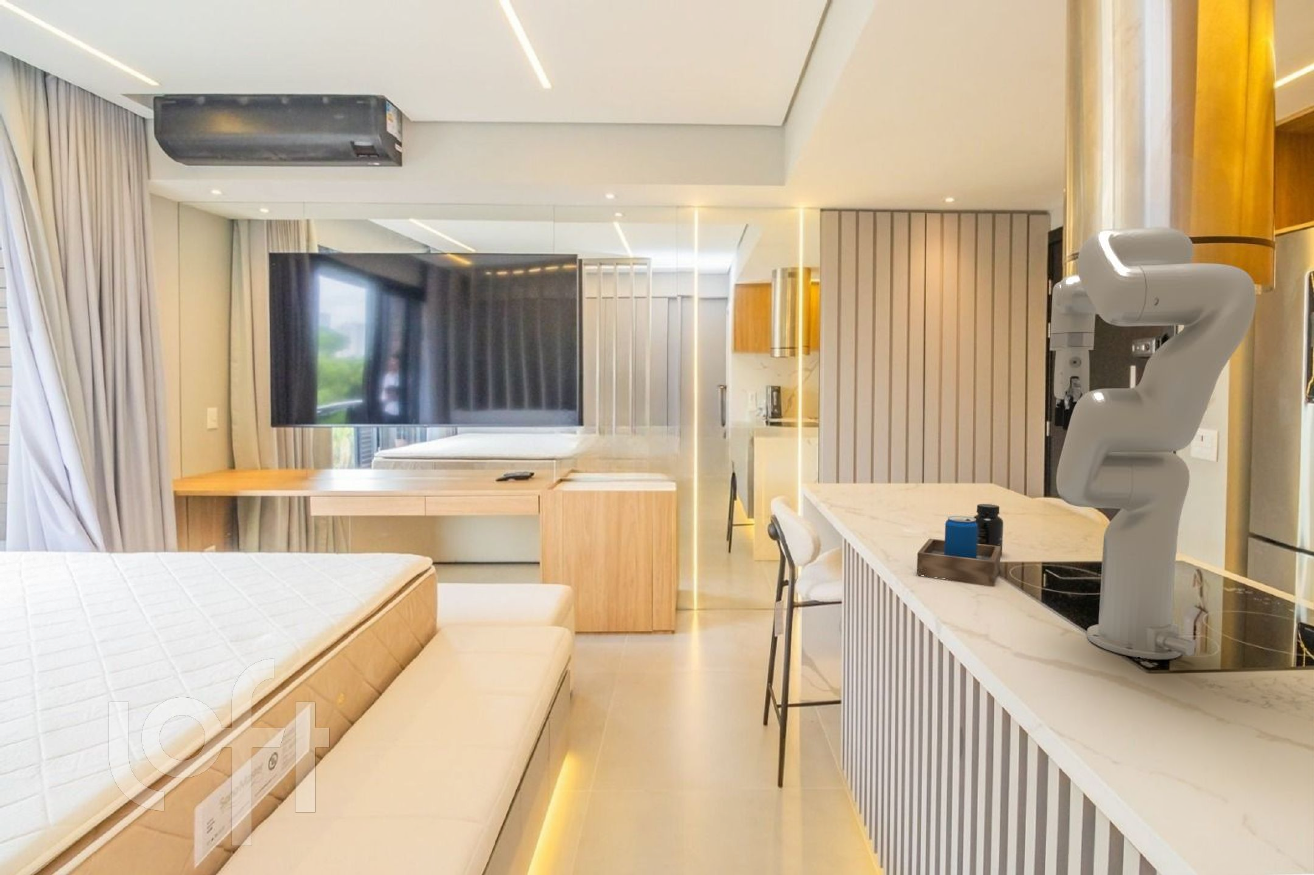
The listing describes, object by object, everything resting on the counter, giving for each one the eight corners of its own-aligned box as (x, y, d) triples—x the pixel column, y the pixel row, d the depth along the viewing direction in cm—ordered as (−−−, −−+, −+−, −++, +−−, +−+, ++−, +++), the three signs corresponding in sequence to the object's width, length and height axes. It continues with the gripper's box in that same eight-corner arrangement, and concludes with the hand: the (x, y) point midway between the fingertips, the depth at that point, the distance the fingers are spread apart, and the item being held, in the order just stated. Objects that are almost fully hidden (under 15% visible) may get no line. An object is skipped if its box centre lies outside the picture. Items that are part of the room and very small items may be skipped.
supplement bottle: (1007, 558, 163) (1009, 508, 162) (978, 558, 163) (980, 508, 162) (993, 551, 170) (995, 502, 169) (965, 551, 170) (967, 502, 169)
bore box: (999, 568, 155) (1000, 546, 154) (993, 586, 142) (994, 562, 141) (928, 559, 162) (929, 538, 162) (916, 575, 149) (917, 552, 149)
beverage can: (981, 576, 149) (983, 521, 147) (950, 576, 149) (952, 521, 148) (968, 568, 155) (970, 515, 154) (939, 568, 155) (940, 515, 154)
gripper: (1103, 340, 130) (1098, 432, 131) (1084, 344, 146) (1080, 425, 147) (1057, 341, 132) (1053, 430, 134) (1043, 345, 148) (1040, 424, 150)
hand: (1067, 428), depth 141 cm, fingers open, 9 cm apart
